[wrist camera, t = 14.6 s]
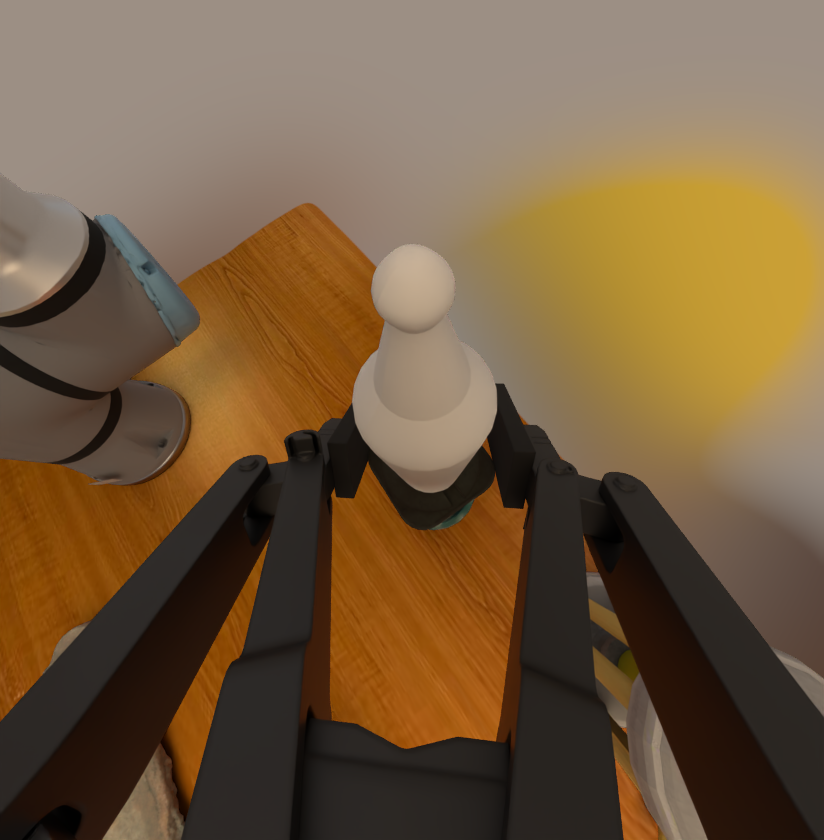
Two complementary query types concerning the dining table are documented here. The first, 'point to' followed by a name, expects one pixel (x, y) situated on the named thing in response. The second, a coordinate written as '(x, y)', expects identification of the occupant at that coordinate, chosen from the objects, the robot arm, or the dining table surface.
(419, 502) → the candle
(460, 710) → the dining table surface
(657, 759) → the lantern
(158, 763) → the elongated rock
